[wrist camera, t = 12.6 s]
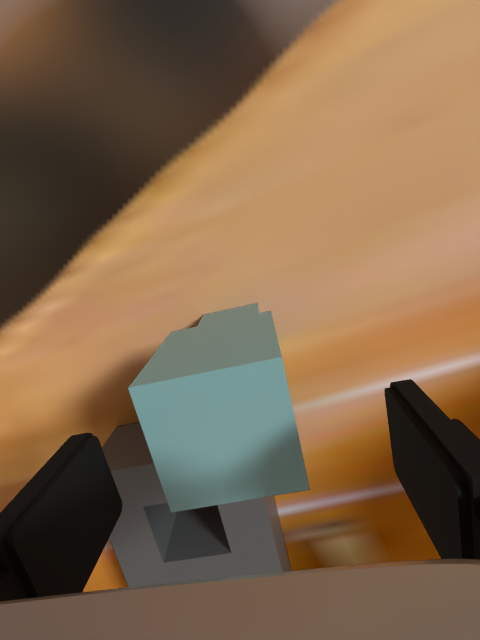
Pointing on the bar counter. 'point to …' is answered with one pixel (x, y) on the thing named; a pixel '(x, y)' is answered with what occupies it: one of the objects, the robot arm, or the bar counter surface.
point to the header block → (185, 526)
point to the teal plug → (220, 412)
